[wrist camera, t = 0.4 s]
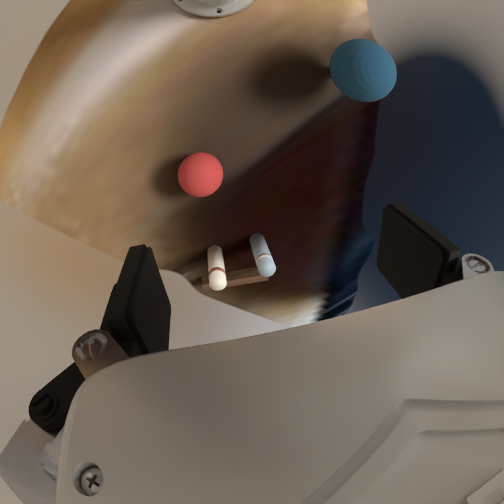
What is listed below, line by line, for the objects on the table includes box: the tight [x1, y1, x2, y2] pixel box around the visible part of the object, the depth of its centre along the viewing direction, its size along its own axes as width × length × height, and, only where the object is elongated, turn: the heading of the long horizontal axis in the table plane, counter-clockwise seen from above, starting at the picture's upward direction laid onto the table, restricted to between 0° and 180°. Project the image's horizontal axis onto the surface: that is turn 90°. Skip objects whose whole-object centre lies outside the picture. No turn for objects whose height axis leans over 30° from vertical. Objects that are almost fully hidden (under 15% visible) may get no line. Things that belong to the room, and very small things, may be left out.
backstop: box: [202, 267, 268, 291], centre depth 50 cm, size 1×11×2 cm, turn 95°
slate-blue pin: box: [249, 233, 276, 277], centre depth 44 cm, size 2×2×8 cm
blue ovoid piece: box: [329, 39, 397, 102], centre depth 30 cm, size 8×8×12 cm
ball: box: [178, 152, 223, 197], centre depth 38 cm, size 6×6×6 cm
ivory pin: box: [207, 245, 227, 290], centre depth 44 cm, size 2×2×8 cm
